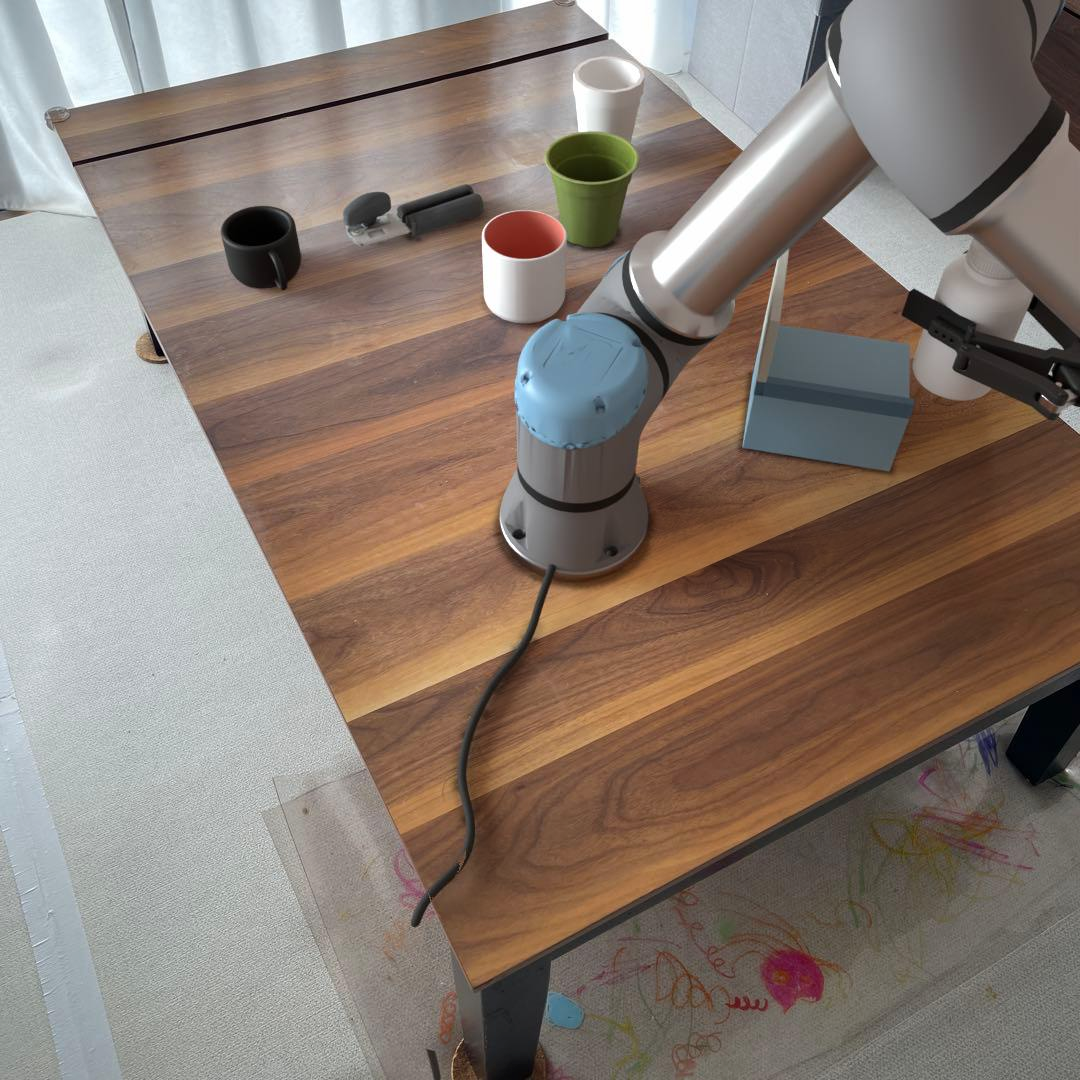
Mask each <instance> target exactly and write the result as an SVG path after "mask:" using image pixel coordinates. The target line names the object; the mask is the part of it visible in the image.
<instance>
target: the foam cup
mask: <svg viewBox="0 0 1080 1080" xmlns="http://www.w3.org/2000/svg"><path fill="white" fill-rule="evenodd" d="M645 77H646V76H645V73H644V69H643V68H642V67H641V66H640V65H638V64H637V63H635V62H634V61H632V60H630V59H626V58H623V57H619V56H606V55H604V56H603V55H602V56H597V57H591V58H587V59H586V60H584V61H582V62H580V63H578V64H577V65H576V67H575V69H574V70H573V77H572V79H573V80H572V91H573V95H574V97H575V98H574V99H575V107H576V118H577V128H578V132H588V131H597V132H605V133H610V134H614V135H617V136H620V137H622V138H624V139H626V140H627V141H629V142H630V143H631V144H632V139H633V134H634V130H635V126H636V121H637V117H638V111H639V107H640V103H641V99H642V96H643V94H644V90H645V79H646V78H645Z"/></svg>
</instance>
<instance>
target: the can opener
mask: <svg viewBox="0 0 1080 1080" xmlns="http://www.w3.org/2000/svg"><path fill="white" fill-rule="evenodd" d="M391 209H392V201H391V197H390V195H389V194H388V193H387V192H384V191H371V192H366V193H363V194H361V195H359V196H357V197H356V198H354V199H353V200H352V201H351V202H349V203H348V204H347V205H346V207H345V208H344V209H343V212H342V218H343V219H342V220H343V224H344V225H345V226H346V233H347V236H348V238H349V240H350V242H352V243H353V244H354V245H357V246H359V247H361V248H366V247H369V246H373V245H376V244H379V243H382V242H385V241H388V240H391V239H395V238H397V237H401V236H404V235H407V234H408V235H409V236H410V237H411V238H415V237H419V236H421V235H424V234H428V233H431V232H435V231H437V230H440V229H443V228H447V227H448V226H451V225H454V224H457V223H460V222H463V221H466V220H469V219H472V218H475V217H478V216H481V214H483V211H484V200H483V198H482V196H481V195H480V194H479V193H475V191H474V189H473V186H472V185H470V184H469V183H464V184H460V185H459V186H456V187H452V188H449V189H446V190H443V191H440V192H437V193H433V194H430V195H428V196H424V197H421V198H418V199H415V200H412V201H409V202H406V203H405V202H404V203H402V204H400V205H398V206H397V208H396V212H391V213H388V212H389V211H391ZM379 217H384V218H379Z"/></svg>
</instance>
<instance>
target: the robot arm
mask: <svg viewBox="0 0 1080 1080" xmlns="http://www.w3.org/2000/svg"><path fill="white" fill-rule="evenodd" d="M1065 4H1066V0H852V1H851V2H849V4H848V5H847V6H846V7H845V8H844V10H843V11H842V12H841V13H840V14H839V15H838V16H837V17H836V19H834V21H833V22H832V23H831V25H830V26H829V28H828V30H827V33H826V36H825V42H824V43H825V57H826V61H824V63H822V65H820V67H819V68H818V69H817V70H816V71H815V72H814V73H813V75H812V76H811V77H810V78H809V79H808V80H807V81H806V82H805V83H804V84H803V85H802V86H801V88H800V89H799V90H797V92H796V93H795V94H794V95H793V96H792V97H791V98H790V100H789V101H788V102H787V103H786V104H785V105H784V106H783V107H782V108H781V109H780V110H779V111H778V112H777V114H776V115H775V116H774V117H773V118H772V119H771V120H770V121H769V122H768V123H767V124H766V125H765V127H764V128H762V129H761V131H760V132H759V133H758V134H757V135H756V137H754V139H753V140H752V141H751V142H750V143H749V144H748V145H747V146H746V147H745V148H744V149H743V151H741V153H740V154H739V155H738V156H737V157H736V158H735V159H734V160H733V161H732V162H731V163H730V165H729V166H728V167H727V168H726V169H725V170H724V171H723V172H722V173H721V175H720V176H719V177H718V178H717V179H716V180H715V181H714V182H713V184H711V185H710V186H709V187H708V189H707V190H705V192H704V193H703V194H702V195H701V196H700V197H699V199H698V200H696V202H695V203H694V204H693V205H692V206H691V207H690V208H689V209H688V210H687V212H685V213H684V214H683V216H682V217H681V218H680V219H679V220H678V221H677V222H676V224H674V225H673V227H672V228H670V230H665V229H664V230H663V229H662V230H655V231H652V232H649V233H647V234H645V235H643V236H642V237H641V238H639V240H638V241H637V242H636V243H635V244H634V245H633V246H632V247H631V248H630V249H629V250H628V251H627V252H625V253H624V254H623V255H621V256H619V257H618V258H617V259H616V260H615V261H614V262H613V263H612V265H611V266H610V267H609V268H608V270H607V271H606V272H605V274H604V276H603V277H602V279H601V281H600V283H599V284H598V285H597V286H596V288H595V289H594V290H593V292H591V294H590V295H589V296H588V297H587V299H586V300H585V302H584V303H582V305H581V306H580V308H579V309H578V310H577V311H576V312H575V313H570V314H568V315H567V316H566V320H561V319H559V318H555V319H552V320H550V321H548V322H547V323H545V324H544V325H542V326H541V327H540V328H539V329H537V330H536V331H535V332H534V333H533V334H532V335H531V336H530V337H529V338H528V340H527V341H526V343H525V344H524V345H523V348H522V350H521V353H520V355H519V359H518V363H517V367H516V368H517V371H516V376H515V380H514V403H515V422H516V423H515V425H516V426H515V427H516V431H515V433H516V469H515V471H514V473H513V475H512V478H511V479H510V481H509V484H508V486H507V488H506V490H505V492H504V493H503V496H502V499H501V502H500V505H499V506H500V507H499V530H500V535H501V538H502V541H503V544H504V546H505V547H506V549H507V551H508V552H509V554H510V555H511V556H512V557H513V558H514V560H515V561H516V562H518V563H519V564H520V565H521V566H523V567H524V568H525V569H527V570H529V571H531V572H532V573H535V574H536V575H539V576H541V577H543V580H542V583H541V586H540V589H539V591H538V594H537V597H536V600H535V603H534V605H533V609H532V613H531V616H530V620H529V622H528V626H527V629H526V630H525V633H524V635H523V636H522V639H521V641H520V642H519V644H518V646H517V647H516V648H515V649H514V652H513V653H512V654H511V655H510V657H509V658H508V659H507V660H506V662H504V664H503V665H502V666H501V667H500V668H499V670H498V671H497V672H496V673H495V674H494V675H493V677H492V678H491V679H490V681H489V682H488V684H487V685H486V687H485V688H484V691H483V692H482V694H481V696H480V697H479V700H478V702H477V703H476V706H475V708H474V710H473V712H472V714H471V716H470V719H469V721H468V723H467V725H466V729H465V731H464V735H463V738H462V742H461V745H460V750H459V755H458V762H457V770H456V771H457V785H458V791H459V796H460V800H461V805H462V810H463V814H464V820H465V837H464V842H463V847H462V849H461V851H460V854H459V855H458V858H456V860H455V862H456V861H457V860H458V859H459V858H460V856H461V855H462V854H463V853H464V852H465V850H466V858H465V860H464V863H463V865H462V867H461V869H460V871H459V867H460V865H459V863H460V862H458V863H455V862H454V863H453V864H452V865H451V866H450V867H449V868H448V870H446V872H445V873H444V874H442V875H441V876H440V877H439V878H438V879H437V880H436V881H434V883H433V884H432V885H430V887H429V888H428V889H427V890H428V891H427V890H426V891H425V893H424V894H423V895H422V897H421V898H420V900H419V901H418V903H417V905H416V907H415V909H414V911H413V914H412V917H411V920H410V926H411V927H413V928H417V927H419V925H421V923H422V919H423V917H424V915H425V913H426V911H427V909H428V907H429V906H430V904H431V903H432V901H433V900H434V899H435V898H436V896H437V895H438V894H439V893H440V892H441V891H443V889H444V888H445V887H447V886H448V885H449V884H450V883H451V881H453V880H454V879H455V878H456V877H457V875H459V874H460V872H461V871H462V870H463V869H464V867H465V866H466V864H467V862H468V861H469V859H470V857H471V855H472V852H473V850H474V849H473V848H474V844H475V840H476V819H475V813H474V809H473V805H472V804H473V803H472V801H471V796H470V792H469V787H468V779H467V777H468V776H467V771H468V769H467V768H468V761H469V755H470V749H471V746H472V742H473V738H474V735H475V732H476V730H477V728H478V724H479V722H480V720H481V718H482V715H483V713H484V711H485V710H486V707H487V705H488V703H489V702H490V700H491V698H492V696H493V694H494V692H495V691H496V689H497V688H498V686H499V685H500V683H501V682H502V681H503V680H504V678H505V677H506V676H507V675H508V674H509V672H510V671H511V670H512V669H513V668H514V666H515V665H516V664H517V663H518V662H519V660H520V659H521V658H522V656H523V655H524V653H525V652H526V650H527V649H528V647H529V645H530V644H531V642H532V640H533V637H534V635H535V633H536V630H537V627H538V624H539V621H540V617H541V614H542V611H543V608H544V604H545V601H546V599H547V596H548V593H549V590H550V586H551V585H552V581H553V580H554V581H560V582H565V583H567V582H568V583H583V582H584V583H585V582H593V581H596V580H601V579H604V578H607V577H610V576H612V575H614V574H616V573H618V572H620V571H621V570H623V569H624V568H626V567H627V566H628V565H629V564H630V563H631V562H633V561H634V560H635V559H636V558H637V556H638V555H639V553H640V552H641V551H642V549H643V546H644V544H645V541H646V539H647V533H648V527H649V526H648V524H649V509H648V505H647V501H646V498H645V496H644V493H643V490H642V488H641V479H642V478H641V476H639V475H637V474H636V472H637V463H638V455H639V448H640V439H641V436H642V434H643V431H644V429H645V427H646V425H647V424H648V422H649V420H650V419H651V417H652V416H653V414H654V413H655V411H656V410H657V408H658V407H659V406H660V405H661V402H662V401H663V399H664V398H665V397H666V395H667V393H668V391H669V390H670V388H671V387H672V385H673V384H674V383H675V381H676V379H677V378H678V377H679V375H680V373H681V372H682V371H683V370H684V368H685V367H686V366H687V365H688V364H689V363H690V362H691V361H692V359H694V358H695V357H696V356H697V355H698V354H700V352H701V351H702V350H703V349H704V348H706V347H707V346H708V345H709V344H710V343H712V341H714V340H715V339H716V338H717V337H718V336H719V335H720V334H721V333H722V332H724V331H725V330H726V328H728V326H729V325H730V323H731V321H732V319H733V317H734V313H735V309H736V308H735V306H736V298H737V297H738V296H739V295H740V294H742V292H743V291H745V290H746V289H747V288H748V287H749V286H750V285H751V284H752V283H753V282H755V281H756V279H758V277H760V276H761V275H762V274H763V273H765V272H766V270H767V269H768V268H770V267H771V266H772V265H773V264H774V263H775V262H777V259H778V258H779V257H780V256H782V255H783V254H784V253H785V252H786V251H787V250H788V249H789V250H790V249H791V248H792V247H793V246H794V245H796V243H797V242H799V240H800V239H801V238H802V237H804V235H806V234H807V233H808V232H809V231H811V230H812V229H813V227H814V226H815V225H817V224H818V223H819V222H820V221H821V220H822V219H823V218H824V217H826V215H827V214H829V213H830V212H831V211H832V210H833V209H834V208H835V207H836V206H837V205H839V203H841V202H842V201H843V200H844V199H845V198H846V197H847V196H849V194H850V193H852V192H853V191H854V190H855V189H856V188H858V187H859V185H860V184H862V182H863V181H865V180H866V179H867V178H868V177H869V176H871V174H872V173H873V172H874V171H876V170H877V169H878V168H880V169H881V170H882V171H883V173H884V174H885V175H886V177H888V179H889V180H890V181H891V182H892V184H893V185H894V186H895V187H896V188H897V189H898V190H899V192H900V193H901V194H902V196H904V197H905V198H906V199H907V200H908V202H909V203H910V204H912V205H913V206H914V208H915V209H916V210H918V211H919V213H921V215H923V216H924V217H925V218H927V219H928V221H929V222H931V223H932V225H934V226H935V227H936V228H937V229H938V230H939V231H940V232H941V233H942V234H944V235H945V236H949V237H951V236H964V235H966V236H967V235H968V236H970V237H971V238H972V239H973V238H974V239H975V240H976V241H977V242H979V243H980V244H981V245H982V246H983V247H984V248H985V249H986V250H987V251H988V252H989V253H990V254H991V255H992V256H993V257H994V258H996V259H997V260H998V261H999V262H1000V263H1001V264H1002V265H1003V266H1004V267H1005V268H1006V269H1007V270H1008V271H1009V272H1010V273H1011V274H1013V275H1014V276H1015V277H1016V278H1017V279H1018V280H1019V281H1020V282H1021V283H1022V284H1023V285H1024V286H1025V287H1026V288H1027V289H1029V290H1030V291H1031V292H1032V293H1033V297H1032V300H1031V302H1030V305H1029V307H1028V309H1027V312H1028V313H1029V314H1030V316H1031V317H1032V318H1033V319H1034V320H1035V321H1036V322H1037V323H1038V324H1039V325H1040V326H1041V327H1042V328H1043V329H1044V330H1045V332H1047V333H1048V334H1049V335H1050V336H1051V337H1052V339H1054V340H1055V341H1056V342H1057V343H1058V344H1059V346H1061V347H1062V349H1061V348H1058V347H1050V348H1048V349H1043V348H1040V347H1035V346H1032V345H1029V344H1025V343H1021V342H1017V341H1015V340H1014V341H1010V340H1007V339H1003V338H999V337H996V336H992V335H988V334H985V333H981V332H977V331H975V328H976V325H977V324H975V323H974V322H973V321H971V320H969V319H967V318H965V317H963V316H961V315H959V314H957V313H955V312H954V311H953V310H951V309H950V308H948V307H946V306H944V305H943V304H941V303H939V302H937V301H936V300H934V298H932V297H930V296H928V295H927V294H925V293H923V292H921V291H919V290H918V289H916V288H912V289H911V290H909V291H908V293H907V297H906V301H905V302H904V306H903V309H902V312H901V316H902V317H903V318H905V319H906V320H909V321H910V322H912V323H913V324H915V325H917V326H919V327H920V328H923V329H926V330H927V331H928V333H929V334H930V336H932V337H933V338H935V339H937V340H938V341H941V342H942V343H944V344H945V345H947V346H949V347H950V348H952V349H954V350H955V351H956V353H957V356H956V359H955V361H954V364H953V367H952V369H953V370H954V371H955V372H957V373H959V374H961V375H963V376H966V377H968V378H970V379H972V380H974V381H977V382H979V383H981V384H983V385H985V386H988V387H990V388H992V389H991V390H994V391H996V392H998V393H1001V394H1003V395H1005V396H1007V397H1010V398H1012V399H1014V400H1016V401H1018V402H1020V403H1023V404H1024V405H1027V406H1029V407H1031V408H1033V409H1034V410H1035V411H1036V412H1037V413H1039V414H1040V415H1041V416H1043V417H1044V418H1045V419H1047V420H1048V421H1057V420H1058V419H1059V417H1060V415H1061V414H1062V412H1063V411H1064V410H1065V409H1068V408H1069V407H1071V406H1073V407H1077V408H1080V151H1079V149H1077V147H1075V145H1073V144H1072V142H1070V140H1069V128H1070V114H1069V113H1068V111H1066V109H1064V107H1063V106H1062V105H1061V104H1060V103H1059V102H1057V100H1055V99H1054V98H1053V96H1051V94H1049V92H1048V91H1047V90H1046V89H1045V87H1044V85H1042V83H1041V82H1040V80H1039V78H1038V76H1037V74H1036V71H1035V69H1034V66H1033V63H1034V60H1035V58H1036V56H1037V54H1038V52H1039V50H1040V48H1041V46H1042V44H1043V41H1044V40H1045V39H1046V38H1045V37H1046V35H1047V34H1048V32H1050V30H1051V29H1052V26H1054V24H1055V23H1056V22H1057V20H1058V19H1059V18H1060V16H1061V13H1062V11H1063V9H1064V6H1065ZM968 250H969V249H967V250H965V251H964V252H962V254H965V253H967V251H968ZM976 345H979V346H980V348H978V347H976ZM969 362H970V363H969ZM1050 372H1051V374H1050ZM455 864H456V865H455ZM457 871H459V872H458V873H457ZM456 874H457V875H456ZM455 875H456V876H455ZM428 893H429V895H430V897H431V900H432V901H430V898H429V895H428ZM432 897H433V898H434V899H432ZM425 1051H426V1054H427V1058H428V1061H429V1065H430V1068H431V1073H432V1078H433V1080H441V1079H442V1076H441V1075H442V1074H441V1070H440V1066H439V1060H438V1058H437V1053H436V1050H432V1049H428V1048H425Z"/></svg>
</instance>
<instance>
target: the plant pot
mask: <svg viewBox="0 0 1080 1080" xmlns="http://www.w3.org/2000/svg"><path fill="white" fill-rule="evenodd" d="M544 163H545V165H546V167H547V169H548V170H549V172H550V176H551V177H550V178H551V180H552V182H553V185H554V191H555V197H556V201H557V208H558V214H559V219H560V220H559V221H560V222H561V224H562V225H563V226H564V228H565V230H566V232H567V242H569V243H570V244H573V245H580V246H581V247H585V248H598V247H603V246H605V245H608V244H609V243H611V242H612V241H613V240H614V238H615V237H616V236H617V234H618V229H619V225H620V220H621V217H622V212H623V208H624V204H625V200H626V195H627V192H628V188H629V185H630V183H631V180H632V178H633V173H634V172H635V171H636V170H637V168H638V167H639V164H640V154H639V151H638V148H637V147H635V145H634V144H633V143H632V142H631V143H630V142H629V141H627V140H626V139H624V138H622V137H620V136H617V135H614V134H610V133H605V132H597V131H588V132H579V131H578V132H572V133H569V134H567V135H563V136H562V137H559V138H557V139H556V140H554V141H553V142H552V143H551V144H550V145H548V147H547V148H546V150H545V153H544Z"/></svg>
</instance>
